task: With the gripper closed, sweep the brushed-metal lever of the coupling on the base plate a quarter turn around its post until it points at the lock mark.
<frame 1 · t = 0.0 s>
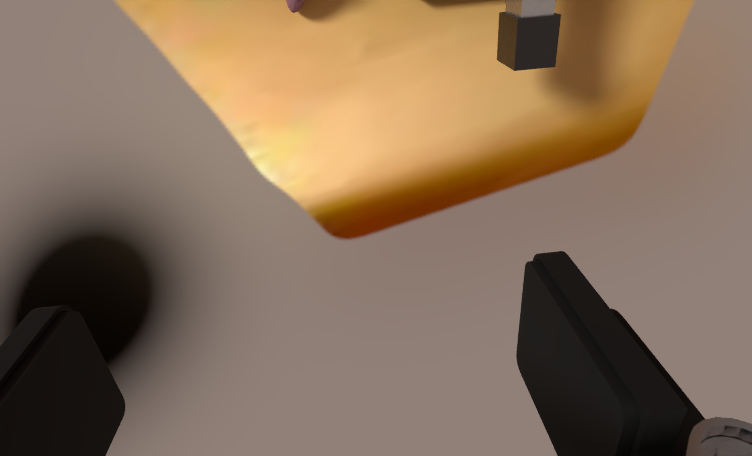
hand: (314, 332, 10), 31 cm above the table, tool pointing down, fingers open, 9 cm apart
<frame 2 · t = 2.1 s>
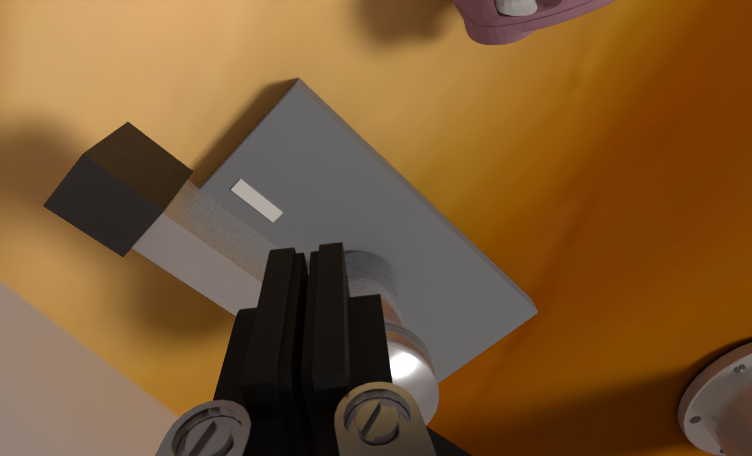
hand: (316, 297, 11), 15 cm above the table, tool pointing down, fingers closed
coupling: (277, 272, 22), point 6 cm above the table, hinge at 0.0°
base plate: (358, 266, 29), on the table
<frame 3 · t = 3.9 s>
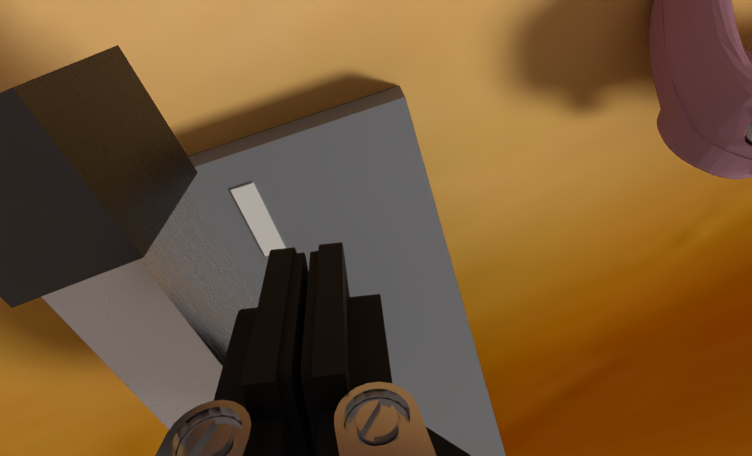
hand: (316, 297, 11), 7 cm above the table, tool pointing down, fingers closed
coupling: (258, 361, 13), point 6 cm above the table, hinge at 3.3°, touching gripper
base plate: (333, 340, 21), on the table
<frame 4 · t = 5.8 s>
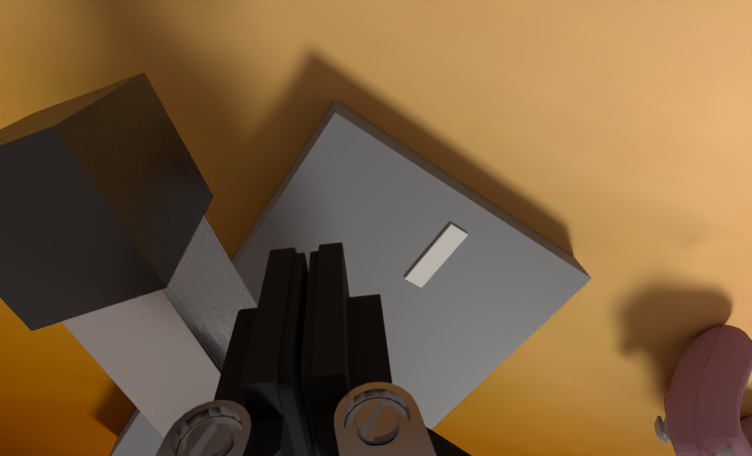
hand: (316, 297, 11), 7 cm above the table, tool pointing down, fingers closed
coupling: (260, 379, 14), point 6 cm above the table, hinge at 52.7°, touching gripper
base plate: (328, 354, 22), on the table
video game controller: (692, 390, 25), on the table
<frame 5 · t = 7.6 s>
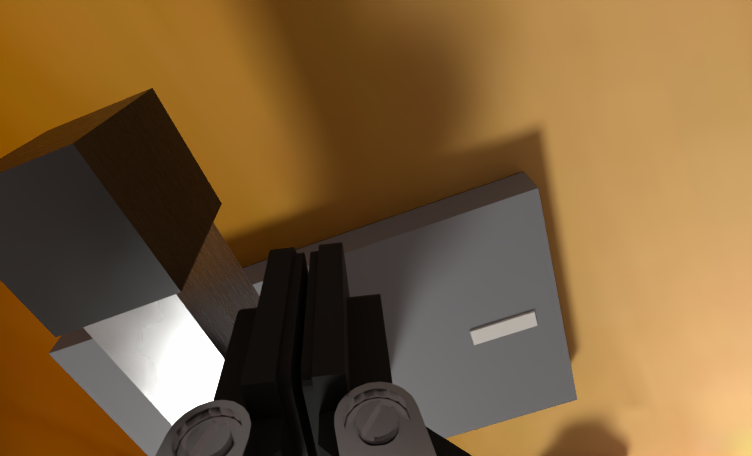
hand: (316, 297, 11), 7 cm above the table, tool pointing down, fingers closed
coupling: (272, 379, 14), point 6 cm above the table, hinge at 90.9°, touching gripper
base plate: (338, 354, 22), on the table
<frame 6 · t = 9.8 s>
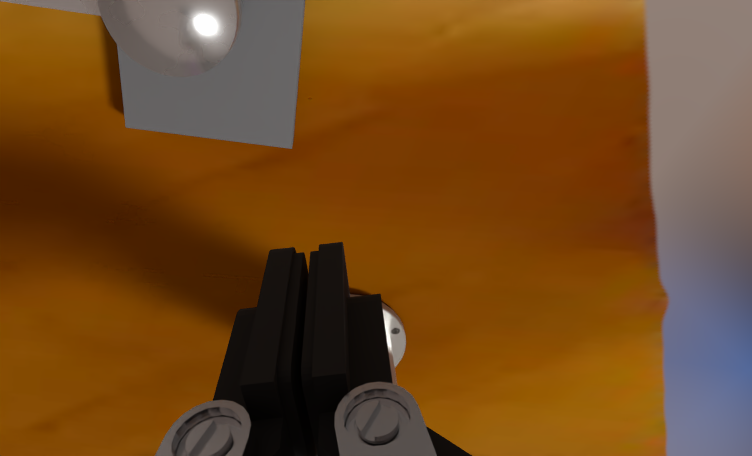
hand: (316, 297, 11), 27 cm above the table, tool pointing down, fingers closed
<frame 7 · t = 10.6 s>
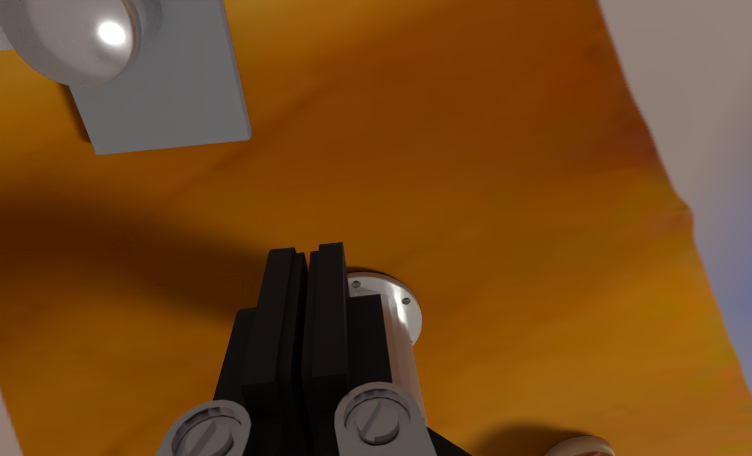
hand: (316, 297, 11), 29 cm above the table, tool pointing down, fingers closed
coupling: (10, 26, 28), point 6 cm above the table, hinge at 90.9°
base plate: (138, 6, 33), on the table
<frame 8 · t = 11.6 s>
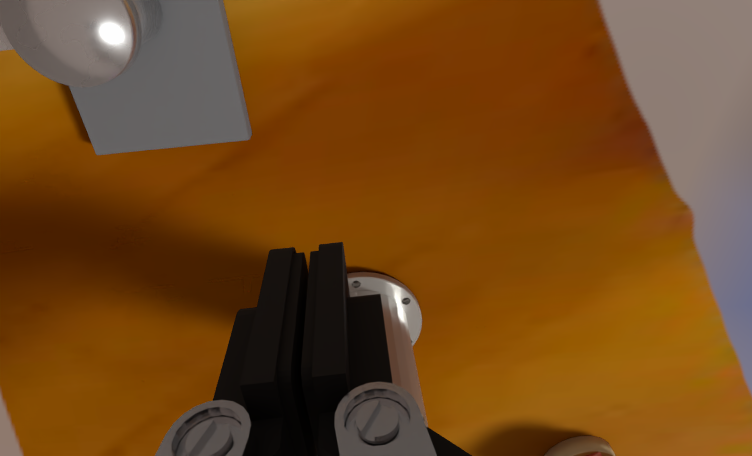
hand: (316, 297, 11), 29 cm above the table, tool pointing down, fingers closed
coupling: (10, 26, 28), point 6 cm above the table, hinge at 90.9°
base plate: (138, 6, 33), on the table
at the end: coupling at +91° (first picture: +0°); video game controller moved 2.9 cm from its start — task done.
